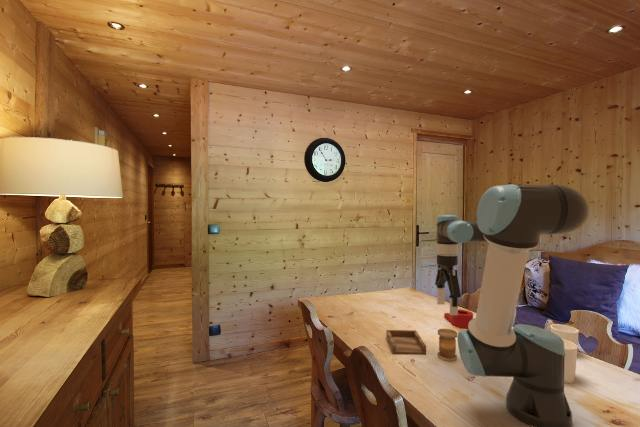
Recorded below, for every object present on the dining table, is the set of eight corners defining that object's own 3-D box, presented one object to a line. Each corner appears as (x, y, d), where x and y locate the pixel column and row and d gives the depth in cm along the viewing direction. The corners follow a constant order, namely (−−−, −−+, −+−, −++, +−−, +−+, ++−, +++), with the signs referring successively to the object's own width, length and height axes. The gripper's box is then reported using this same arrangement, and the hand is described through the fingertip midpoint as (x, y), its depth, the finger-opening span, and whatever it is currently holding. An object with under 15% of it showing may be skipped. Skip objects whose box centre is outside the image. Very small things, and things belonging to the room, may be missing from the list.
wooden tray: (426, 354, 126) (426, 346, 126) (392, 354, 126) (392, 345, 126) (415, 338, 142) (415, 330, 142) (386, 337, 142) (386, 329, 142)
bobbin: (459, 362, 120) (460, 335, 119) (441, 361, 120) (441, 335, 120) (453, 353, 127) (453, 328, 126) (435, 353, 127) (435, 328, 127)
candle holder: (542, 367, 116) (543, 334, 115) (577, 376, 109) (577, 342, 109) (540, 378, 108) (540, 343, 108) (577, 389, 102) (577, 351, 102)
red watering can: (477, 328, 154) (477, 314, 154) (460, 330, 152) (460, 316, 151) (453, 316, 171) (453, 304, 171) (437, 317, 169) (438, 305, 169)
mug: (566, 360, 121) (567, 333, 121) (544, 350, 130) (544, 325, 129) (588, 357, 124) (588, 330, 124) (565, 347, 132) (565, 322, 132)
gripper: (471, 259, 111) (470, 320, 111) (445, 250, 136) (445, 300, 136) (449, 259, 111) (449, 320, 111) (427, 250, 136) (427, 300, 136)
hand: (446, 309), depth 124 cm, fingers open, 13 cm apart
